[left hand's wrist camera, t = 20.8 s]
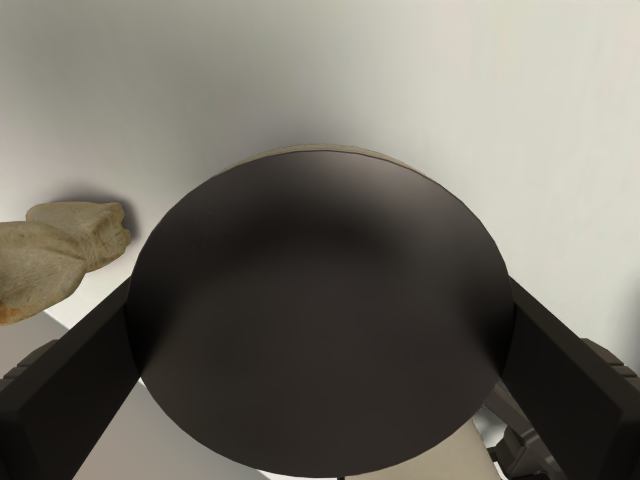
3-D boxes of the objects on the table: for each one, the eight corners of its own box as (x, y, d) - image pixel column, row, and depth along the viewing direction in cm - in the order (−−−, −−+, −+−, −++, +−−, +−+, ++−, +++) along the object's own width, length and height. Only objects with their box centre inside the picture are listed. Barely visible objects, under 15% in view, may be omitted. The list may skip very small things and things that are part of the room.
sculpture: (39, 188, 27) (-262, 281, 13) (132, 187, 27) (-69, 278, 13) (61, 257, 29) (-178, 401, 15) (147, 256, 29) (-12, 398, 15)
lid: (480, 429, 14) (499, 466, 13) (193, 450, 14) (179, 489, 13) (505, 123, 10) (537, 125, 8) (101, 165, 10) (66, 175, 9)
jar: (346, 323, 32) (372, 535, 16) (455, 334, 32) (583, 551, 17) (331, 407, 35) (340, 646, 20) (429, 416, 36) (513, 656, 20)
